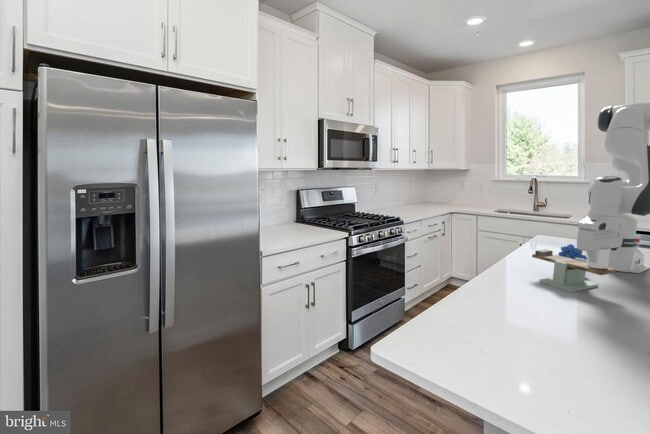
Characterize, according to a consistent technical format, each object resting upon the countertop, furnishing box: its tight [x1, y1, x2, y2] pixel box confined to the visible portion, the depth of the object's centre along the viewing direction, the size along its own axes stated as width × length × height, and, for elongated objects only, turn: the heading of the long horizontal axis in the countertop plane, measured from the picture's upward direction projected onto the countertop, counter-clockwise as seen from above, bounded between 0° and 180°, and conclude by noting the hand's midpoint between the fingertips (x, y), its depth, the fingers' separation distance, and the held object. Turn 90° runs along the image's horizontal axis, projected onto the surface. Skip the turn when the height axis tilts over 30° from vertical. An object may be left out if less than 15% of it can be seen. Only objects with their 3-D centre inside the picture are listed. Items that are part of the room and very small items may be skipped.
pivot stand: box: [539, 258, 599, 293], centre depth 137 cm, size 16×12×10 cm
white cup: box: [585, 248, 610, 269], centre depth 127 cm, size 7×7×7 cm
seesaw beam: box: [531, 248, 617, 276], centre depth 136 cm, size 26×10×4 cm, turn 23°
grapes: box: [557, 243, 587, 260], centre depth 152 cm, size 12×7×12 cm, turn 25°
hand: (597, 261), depth 127 cm, fingers closed on white cup, 5 cm apart
